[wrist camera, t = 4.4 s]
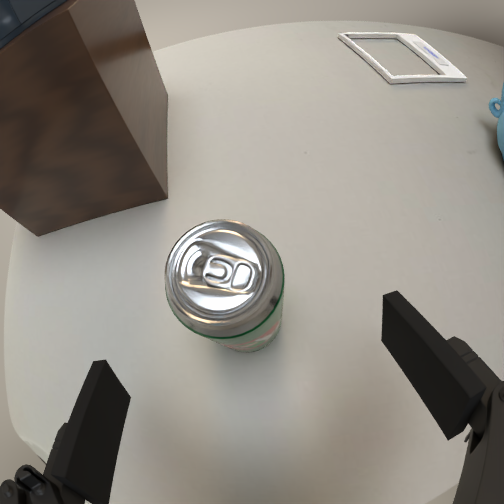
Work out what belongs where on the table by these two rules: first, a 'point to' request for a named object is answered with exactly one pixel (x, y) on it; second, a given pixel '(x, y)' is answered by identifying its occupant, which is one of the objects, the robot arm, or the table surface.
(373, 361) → the table surface
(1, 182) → the stand
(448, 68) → the photo frame
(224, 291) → the soda can
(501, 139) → the decorative pot
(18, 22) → the bowl
